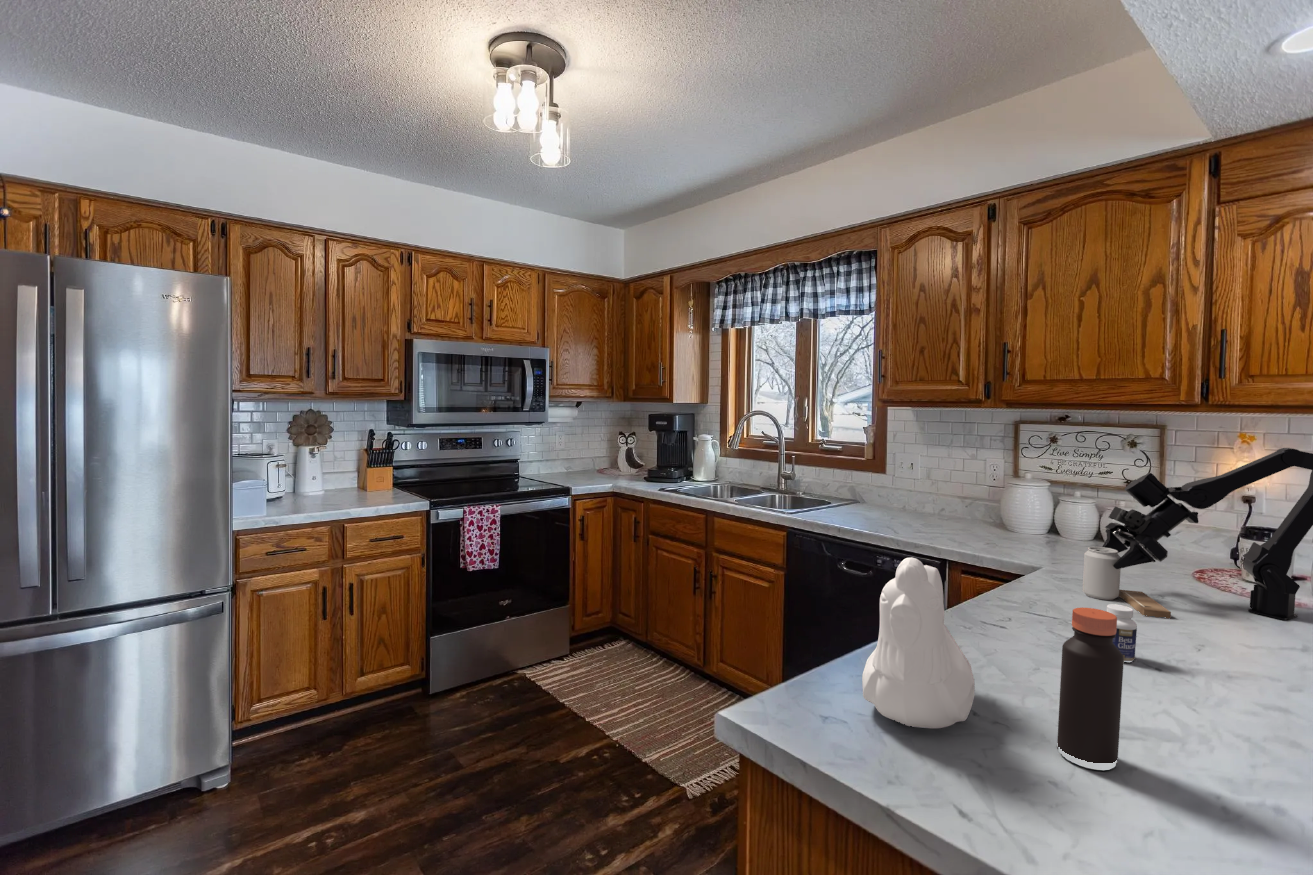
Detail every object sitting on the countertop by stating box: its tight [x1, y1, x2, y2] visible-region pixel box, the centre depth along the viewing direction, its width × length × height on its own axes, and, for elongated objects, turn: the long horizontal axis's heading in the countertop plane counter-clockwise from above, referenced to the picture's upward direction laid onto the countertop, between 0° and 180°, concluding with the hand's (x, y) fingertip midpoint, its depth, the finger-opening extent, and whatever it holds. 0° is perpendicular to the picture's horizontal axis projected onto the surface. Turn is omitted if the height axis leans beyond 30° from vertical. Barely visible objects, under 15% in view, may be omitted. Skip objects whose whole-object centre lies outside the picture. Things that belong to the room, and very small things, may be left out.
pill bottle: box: [1106, 603, 1138, 661], centre depth 119 cm, size 5×5×10 cm
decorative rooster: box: [861, 557, 976, 729], centre depth 98 cm, size 25×16×25 cm, turn 135°
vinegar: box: [1056, 607, 1125, 763], centre depth 85 cm, size 7×7×20 cm
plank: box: [1118, 589, 1172, 619], centre depth 150 cm, size 16×5×2 cm, turn 161°
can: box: [1082, 546, 1122, 601], centre depth 157 cm, size 8×8×12 cm
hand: (1105, 562), depth 157 cm, fingers open, 9 cm apart
